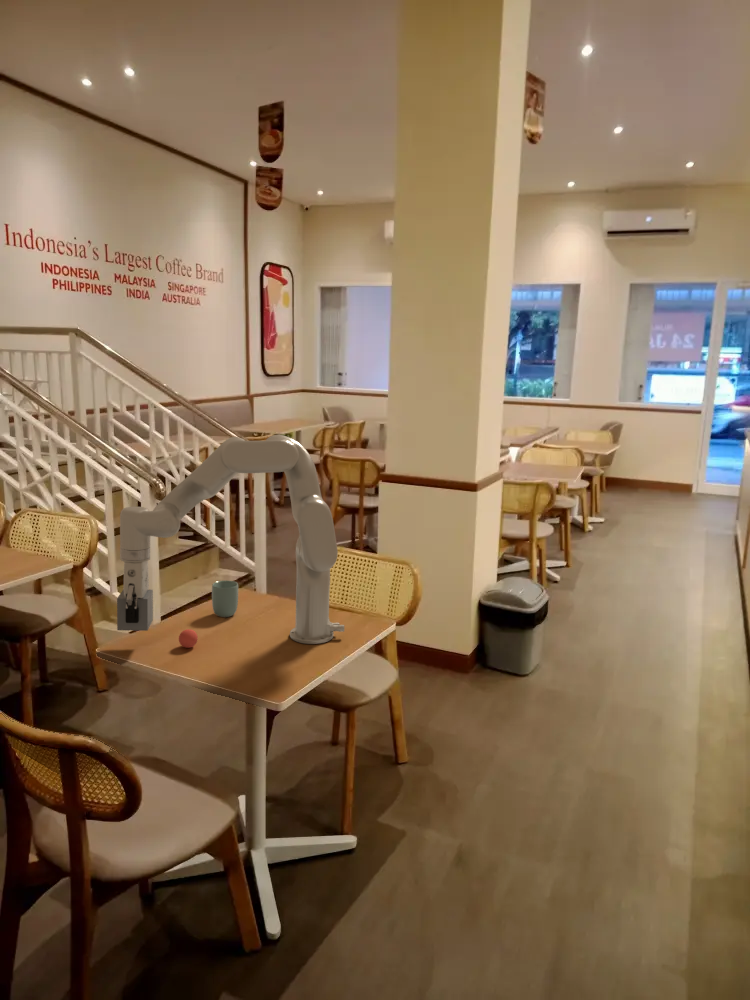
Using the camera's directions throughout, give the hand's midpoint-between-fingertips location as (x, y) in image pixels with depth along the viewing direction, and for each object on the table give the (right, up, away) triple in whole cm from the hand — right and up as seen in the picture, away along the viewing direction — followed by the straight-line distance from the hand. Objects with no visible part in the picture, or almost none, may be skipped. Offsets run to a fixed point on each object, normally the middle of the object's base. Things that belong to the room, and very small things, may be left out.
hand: (135, 616), depth 191 cm
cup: (+18, -4, +29) cm, 34 cm away
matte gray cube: (0, -2, 0) cm, 2 cm away
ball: (+13, -6, +3) cm, 15 cm away
